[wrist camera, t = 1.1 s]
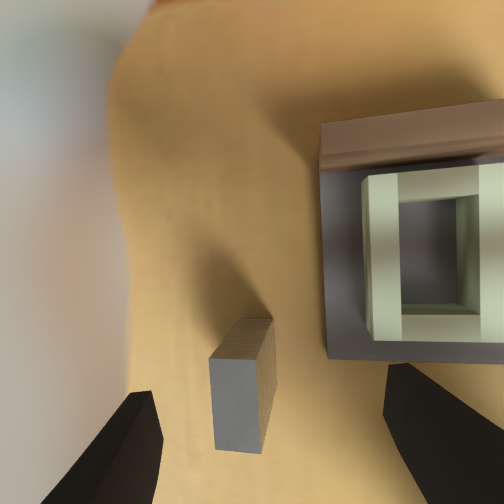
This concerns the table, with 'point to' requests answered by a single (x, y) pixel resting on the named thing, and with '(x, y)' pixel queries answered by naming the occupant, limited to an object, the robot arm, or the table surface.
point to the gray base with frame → (414, 235)
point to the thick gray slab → (243, 386)
